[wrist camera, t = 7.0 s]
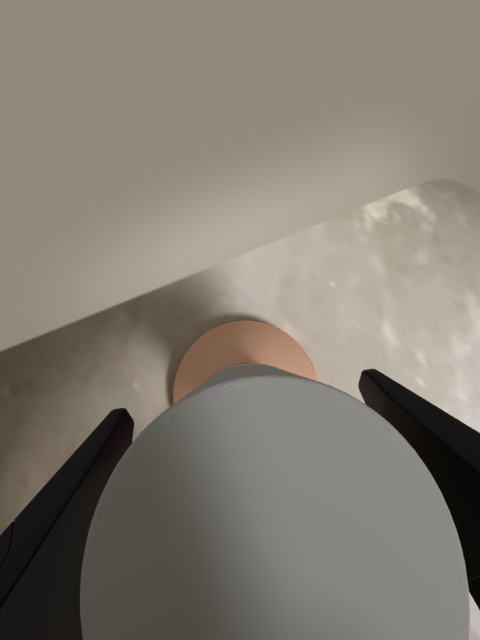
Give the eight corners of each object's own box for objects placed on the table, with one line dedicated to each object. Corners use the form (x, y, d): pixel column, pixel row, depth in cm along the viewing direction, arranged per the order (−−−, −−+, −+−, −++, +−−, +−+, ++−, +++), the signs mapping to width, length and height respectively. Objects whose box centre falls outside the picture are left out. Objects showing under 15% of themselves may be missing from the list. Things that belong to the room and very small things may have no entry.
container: (202, 390, 17) (-11, 542, 3) (249, 350, 18) (288, 294, 3) (242, 441, 17) (247, 1017, 2) (290, 398, 17) (573, 607, 3)
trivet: (327, 452, 18) (333, 459, 17) (185, 476, 17) (180, 484, 16) (299, 314, 20) (303, 311, 18) (171, 333, 19) (166, 331, 18)
